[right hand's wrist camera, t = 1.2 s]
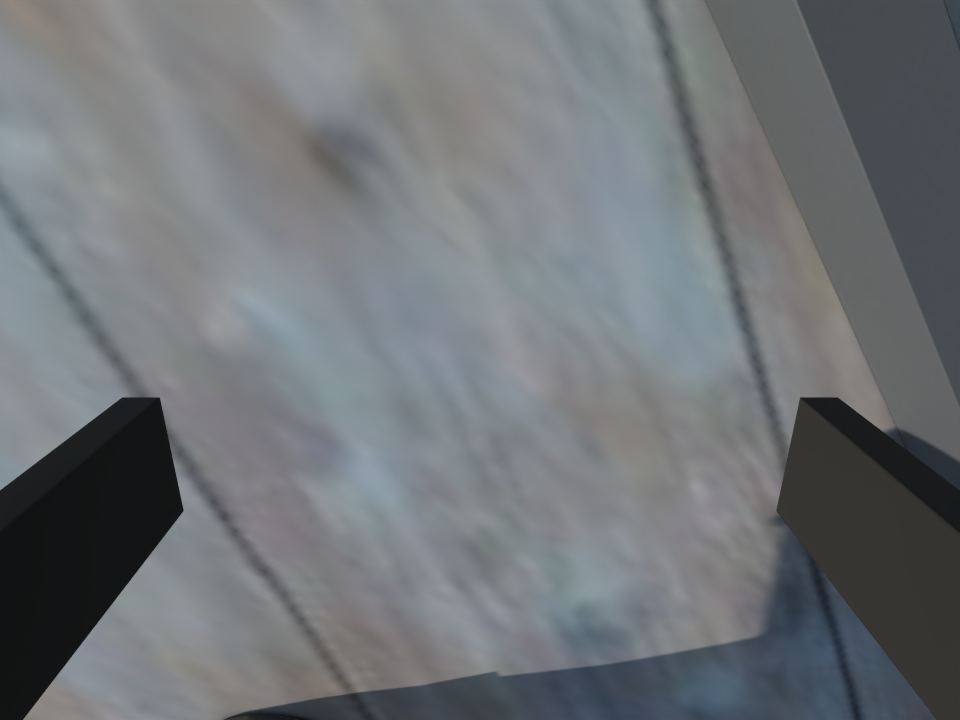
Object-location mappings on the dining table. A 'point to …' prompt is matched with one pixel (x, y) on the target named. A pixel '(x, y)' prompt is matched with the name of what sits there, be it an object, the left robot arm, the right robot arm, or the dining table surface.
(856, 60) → the plank
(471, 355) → the dining table surface
